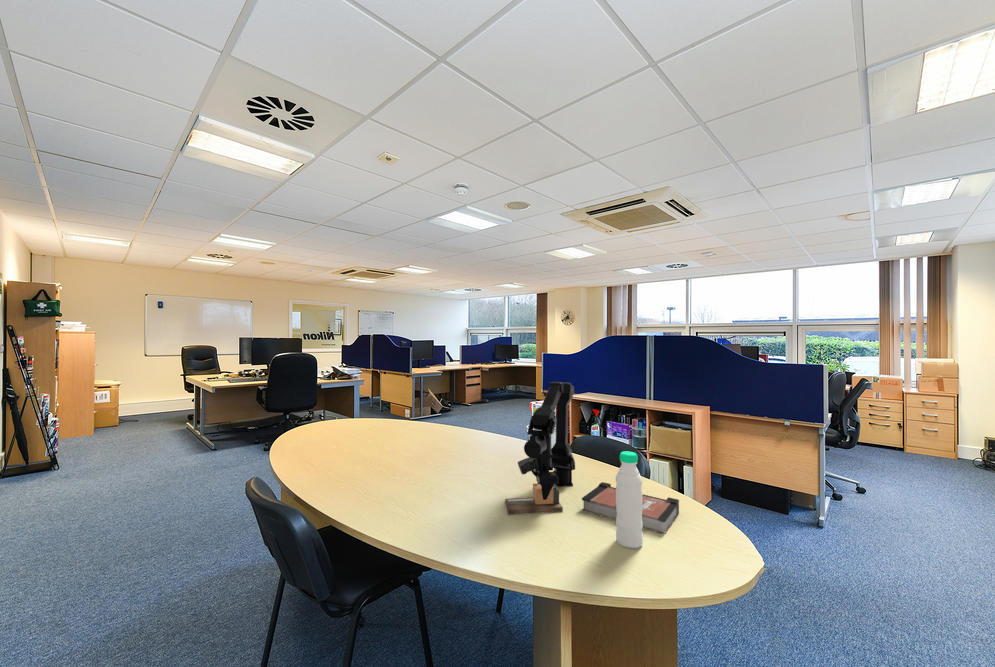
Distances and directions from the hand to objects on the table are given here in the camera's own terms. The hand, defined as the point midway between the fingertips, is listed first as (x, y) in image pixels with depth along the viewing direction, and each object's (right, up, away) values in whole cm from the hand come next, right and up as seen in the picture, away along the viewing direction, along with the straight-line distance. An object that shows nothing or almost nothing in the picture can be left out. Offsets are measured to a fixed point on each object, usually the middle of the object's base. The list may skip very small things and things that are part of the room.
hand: (543, 496), depth 133 cm
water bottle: (+21, -3, -24) cm, 32 cm away
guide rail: (-3, -2, 0) cm, 4 cm away
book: (+28, -4, -4) cm, 28 cm away
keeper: (0, -2, 0) cm, 2 cm away
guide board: (-3, -4, 0) cm, 5 cm away
